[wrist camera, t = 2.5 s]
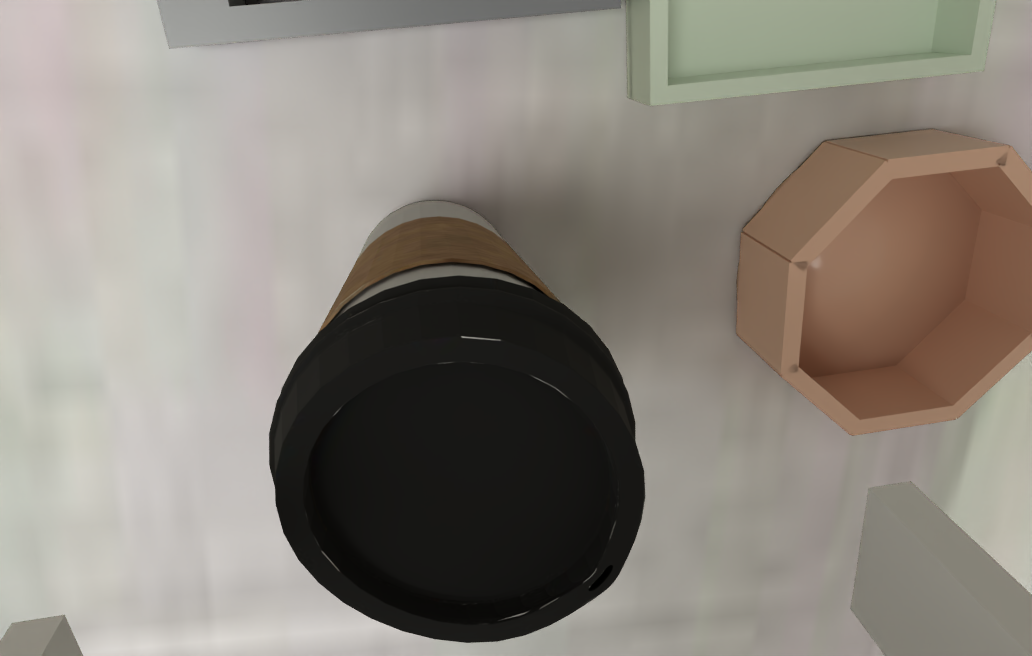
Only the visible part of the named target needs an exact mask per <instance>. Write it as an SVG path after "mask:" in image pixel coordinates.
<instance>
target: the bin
mask: <svg viewBox="0 0 1032 656" xmlns="http://www.w3.org/2000/svg"><path fill="white" fill-rule="evenodd" d="M742 231H743V232H741V242H740V261H739V265H738V273H737V301H738V304H737V324H736V333H737V335H738V336H739V337H740V338H741V339H742V340H743V341H744V342H745V343H746V344H747V345H748V346H749V347H750V348H751V349H752V350H753V351H755V352H756V353H757V354H758V355H759V356H760V357H761V358H762V359H763V360H764V361H765V362H766V363H767V364H768V365H769V366H770V367H771V368H772V369H774V370H775V371H776V372H777V373H778V374H779V375H780V376H781V377H782V378H783V379H784V380H786V381H787V382H788V383H789V384H790V385H792V386H793V387H794V388H795V389H796V390H797V391H799V392H800V393H801V394H802V395H803V396H805V397H806V398H807V399H808V400H809V401H810V402H812V403H813V404H814V405H815V406H816V407H818V408H819V409H820V410H821V411H822V412H823V413H825V414H826V415H827V416H828V417H829V418H831V419H832V420H833V421H834V422H835V423H837V424H838V425H839V426H840V427H841V428H842V429H844V430H845V431H846V432H847V433H848V434H850V435H852V436H854V435H860V434H866V433H873V432H879V431H886V430H892V429H898V428H905V427H911V426H917V425H924V424H930V423H937V422H943V421H949V420H956V418H957V419H958V418H959V417H960V416H961V415H962V414H963V413H964V412H965V411H966V410H967V409H969V408H970V407H971V406H972V405H973V404H974V403H975V402H976V401H977V400H978V399H979V398H981V397H982V396H983V395H984V394H985V393H986V392H987V391H988V390H989V389H990V388H991V387H993V386H994V385H995V384H996V383H997V382H998V381H999V380H1000V379H1001V378H1002V377H1003V376H1005V375H1006V374H1007V373H1008V372H1009V371H1010V370H1011V369H1012V368H1013V367H1014V366H1015V365H1017V364H1018V363H1019V362H1020V361H1021V360H1022V359H1023V358H1024V357H1025V356H1026V355H1027V354H1029V353H1030V352H1031V351H1032V171H1031V170H1030V169H1029V168H1028V166H1027V165H1026V164H1025V162H1024V161H1023V160H1022V159H1021V157H1020V156H1019V155H1018V154H1017V152H1016V151H1015V150H1014V149H1013V147H1012V146H1009V145H1006V144H1001V143H996V142H991V141H987V140H982V139H977V138H972V137H968V136H963V135H958V134H954V133H949V132H944V131H939V130H935V129H927V130H918V131H910V132H901V133H892V134H883V135H872V136H865V137H856V138H847V139H838V140H830V141H825V142H823V143H822V144H821V145H820V146H819V147H818V148H817V149H816V150H815V151H814V153H813V154H812V155H811V156H810V157H809V158H808V159H807V160H806V161H805V162H804V163H803V164H802V166H801V167H800V168H798V169H797V170H796V171H794V172H793V173H792V174H791V175H790V176H789V177H788V178H787V179H786V180H785V181H784V182H783V183H782V184H781V185H780V186H779V187H778V188H777V189H776V190H775V192H774V193H773V194H772V195H771V196H770V198H769V199H768V200H767V201H766V203H765V204H764V206H763V207H762V209H761V210H760V211H759V212H758V213H757V214H756V215H755V216H754V217H753V219H752V220H751V221H750V222H749V223H748V224H747V225H746V226H745V227H744V228H743V229H742Z"/></svg>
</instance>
